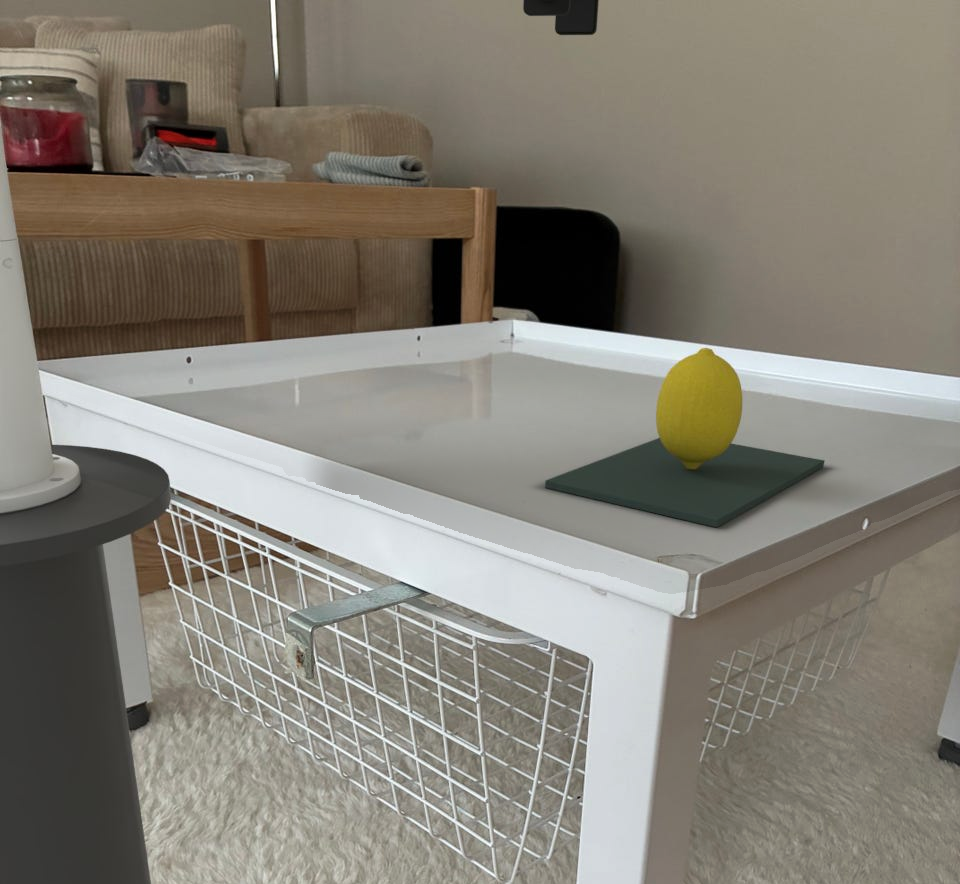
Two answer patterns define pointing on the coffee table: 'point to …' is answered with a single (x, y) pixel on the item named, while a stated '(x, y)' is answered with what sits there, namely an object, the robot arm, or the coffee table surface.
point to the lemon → (699, 408)
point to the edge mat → (687, 481)
